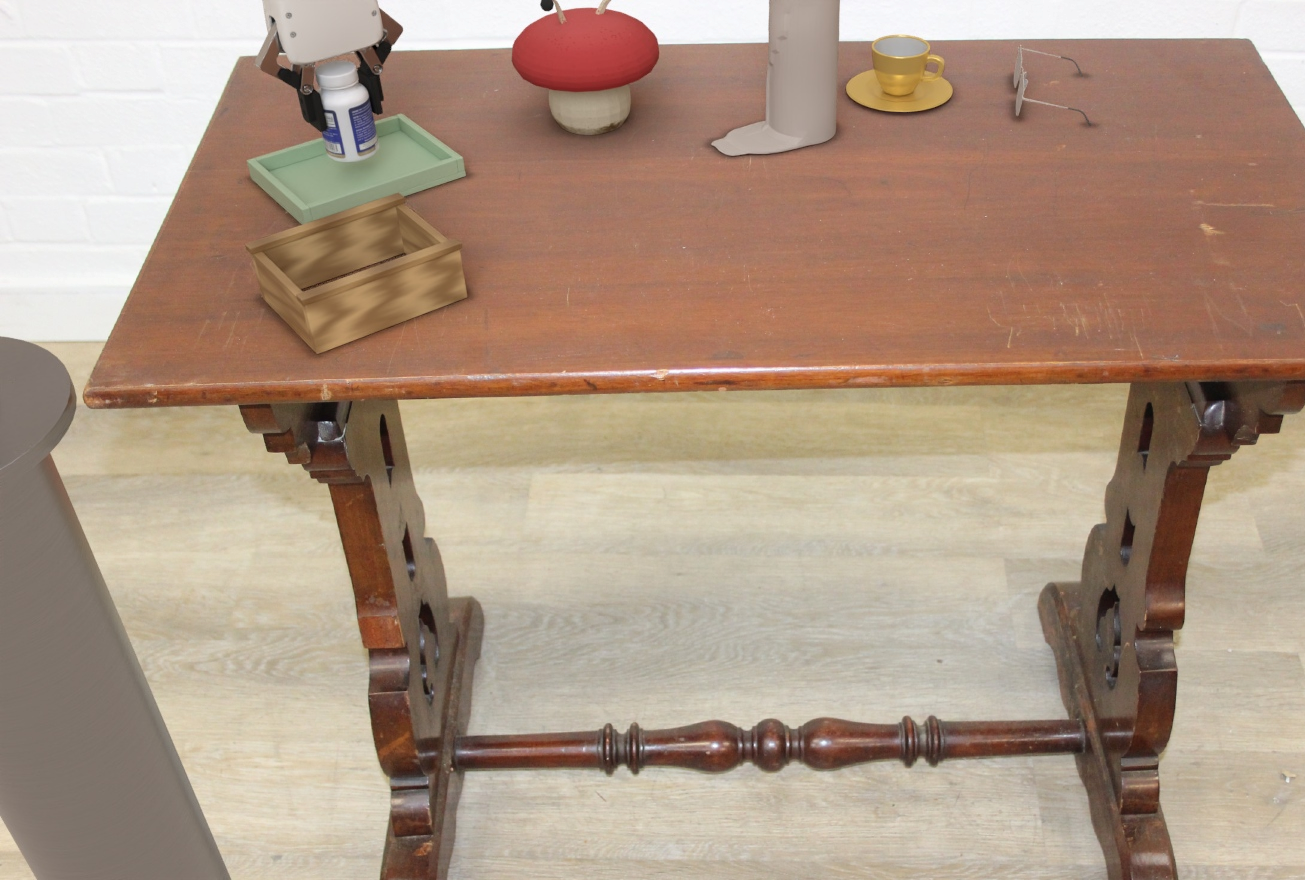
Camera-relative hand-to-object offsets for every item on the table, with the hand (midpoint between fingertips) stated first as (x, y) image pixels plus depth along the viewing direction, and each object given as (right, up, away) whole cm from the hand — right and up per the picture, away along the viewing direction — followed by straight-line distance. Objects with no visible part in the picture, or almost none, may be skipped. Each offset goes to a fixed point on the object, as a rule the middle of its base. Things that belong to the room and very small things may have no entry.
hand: (345, 116), depth 140 cm
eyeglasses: (+74, +7, +17) cm, 76 cm away
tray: (0, -5, +4) cm, 7 cm away
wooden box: (+6, -20, -14) cm, 25 cm away
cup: (+57, +8, +19) cm, 61 cm away
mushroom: (+23, +3, +14) cm, 27 cm away
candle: (+43, 0, +10) cm, 44 cm away
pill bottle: (0, -3, +3) cm, 4 cm away
